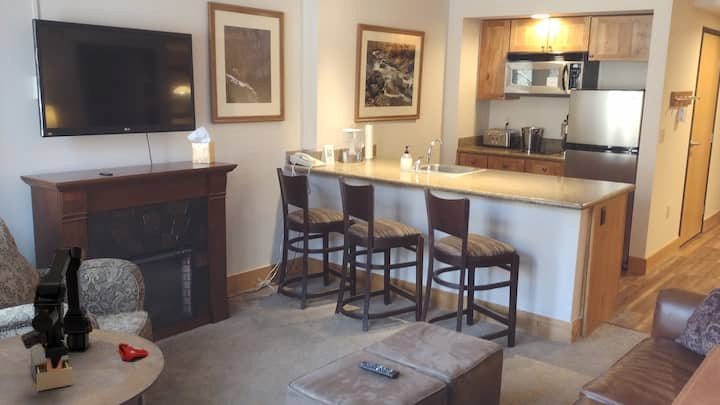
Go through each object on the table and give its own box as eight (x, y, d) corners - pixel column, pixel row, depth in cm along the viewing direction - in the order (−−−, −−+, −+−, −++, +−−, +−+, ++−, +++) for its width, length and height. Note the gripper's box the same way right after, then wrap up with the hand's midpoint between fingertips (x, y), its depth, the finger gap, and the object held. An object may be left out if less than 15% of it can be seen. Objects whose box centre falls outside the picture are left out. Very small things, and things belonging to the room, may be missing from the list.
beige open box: (33, 372, 199) (31, 345, 197) (66, 366, 204) (65, 339, 202) (37, 391, 187) (36, 362, 185) (73, 384, 192) (71, 356, 190)
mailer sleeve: (31, 365, 205) (30, 348, 203) (63, 359, 210) (63, 343, 209) (35, 382, 193) (34, 364, 192) (69, 376, 198) (69, 358, 197)
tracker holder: (152, 348, 220) (142, 353, 210) (149, 360, 220) (138, 365, 210) (121, 338, 221) (109, 343, 211) (117, 350, 220) (105, 355, 210)
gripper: (20, 314, 189) (22, 361, 192) (24, 335, 174) (27, 386, 176) (59, 308, 195) (61, 354, 198) (67, 328, 180) (69, 377, 182)
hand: (54, 367), depth 189 cm, fingers closed, pressing on beige open box
